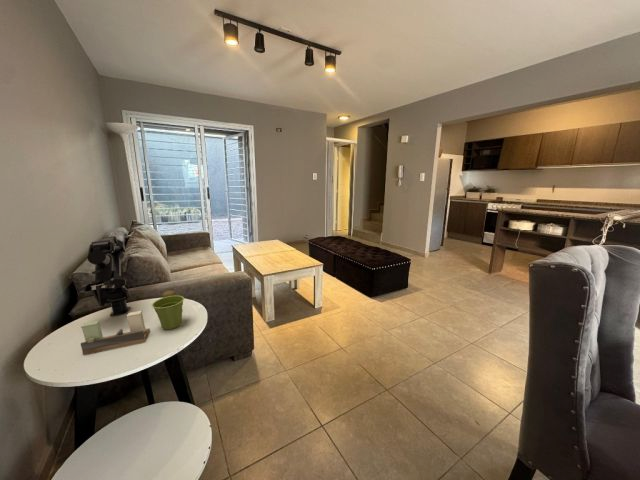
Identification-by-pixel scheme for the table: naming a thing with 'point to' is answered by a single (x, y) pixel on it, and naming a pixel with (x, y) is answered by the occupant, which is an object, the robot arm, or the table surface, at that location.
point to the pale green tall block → (92, 330)
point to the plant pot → (169, 311)
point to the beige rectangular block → (136, 321)
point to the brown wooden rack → (114, 341)
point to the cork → (168, 293)
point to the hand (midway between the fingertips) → (102, 306)
